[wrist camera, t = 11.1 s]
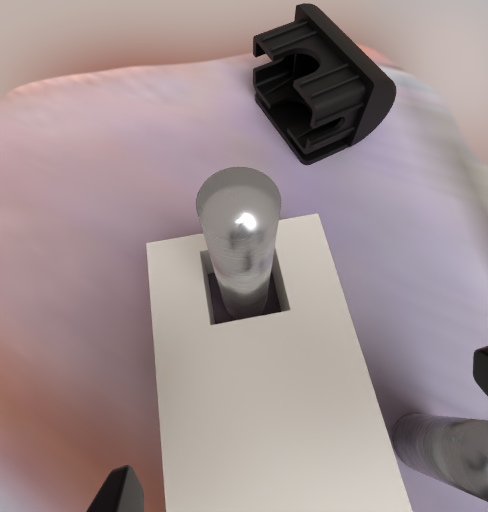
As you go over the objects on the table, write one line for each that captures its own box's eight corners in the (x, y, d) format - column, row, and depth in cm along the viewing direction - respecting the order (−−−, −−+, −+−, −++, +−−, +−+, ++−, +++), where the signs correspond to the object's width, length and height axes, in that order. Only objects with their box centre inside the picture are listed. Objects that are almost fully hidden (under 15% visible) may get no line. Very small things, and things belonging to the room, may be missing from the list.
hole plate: (394, 536, 18) (432, 573, 14) (191, 583, 17) (175, 633, 14) (308, 240, 25) (317, 213, 21) (162, 266, 24) (146, 243, 21)
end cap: (377, 140, 29) (412, 68, 22) (307, 172, 27) (323, 106, 21) (314, 69, 32) (329, -9, 26) (250, 95, 31) (250, 19, 25)
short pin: (454, 465, 19) (557, 500, 13) (404, 476, 19) (482, 517, 12) (432, 409, 20) (517, 414, 14) (385, 418, 20) (448, 429, 14)
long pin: (264, 322, 22) (277, 243, 11) (220, 317, 23) (189, 235, 11) (268, 280, 24) (283, 170, 12) (226, 276, 24) (203, 163, 12)
